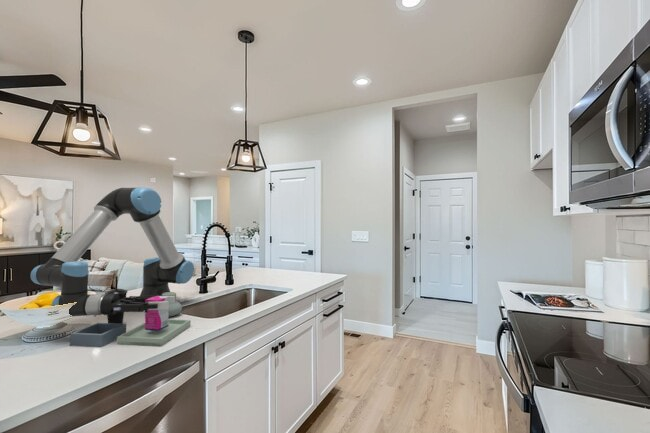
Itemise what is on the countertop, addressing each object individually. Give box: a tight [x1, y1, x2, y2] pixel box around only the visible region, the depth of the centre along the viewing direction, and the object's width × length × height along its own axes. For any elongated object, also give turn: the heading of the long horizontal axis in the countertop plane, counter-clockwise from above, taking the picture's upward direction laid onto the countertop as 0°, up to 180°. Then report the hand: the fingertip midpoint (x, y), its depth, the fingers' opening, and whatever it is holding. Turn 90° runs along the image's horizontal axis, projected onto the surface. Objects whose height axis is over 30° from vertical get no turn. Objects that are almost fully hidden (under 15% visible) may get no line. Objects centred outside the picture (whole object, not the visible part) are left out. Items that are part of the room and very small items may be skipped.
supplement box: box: [144, 296, 169, 331], centre depth 116 cm, size 6×6×12 cm
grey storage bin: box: [69, 322, 127, 348], centre depth 110 cm, size 12×12×4 cm
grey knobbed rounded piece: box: [162, 291, 183, 318], centre depth 138 cm, size 11×8×10 cm
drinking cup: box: [104, 275, 128, 324], centre depth 124 cm, size 8×8×20 cm
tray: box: [116, 318, 192, 347], centre depth 116 cm, size 20×16×2 cm
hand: (171, 302), depth 117 cm, fingers closed on supplement box, 7 cm apart
